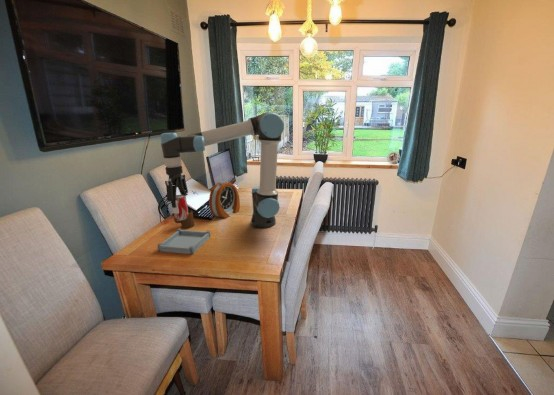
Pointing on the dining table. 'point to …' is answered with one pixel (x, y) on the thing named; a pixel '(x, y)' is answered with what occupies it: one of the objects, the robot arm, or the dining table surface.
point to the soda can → (181, 208)
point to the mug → (187, 220)
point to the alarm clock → (224, 199)
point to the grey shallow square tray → (184, 241)
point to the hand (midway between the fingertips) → (180, 210)
